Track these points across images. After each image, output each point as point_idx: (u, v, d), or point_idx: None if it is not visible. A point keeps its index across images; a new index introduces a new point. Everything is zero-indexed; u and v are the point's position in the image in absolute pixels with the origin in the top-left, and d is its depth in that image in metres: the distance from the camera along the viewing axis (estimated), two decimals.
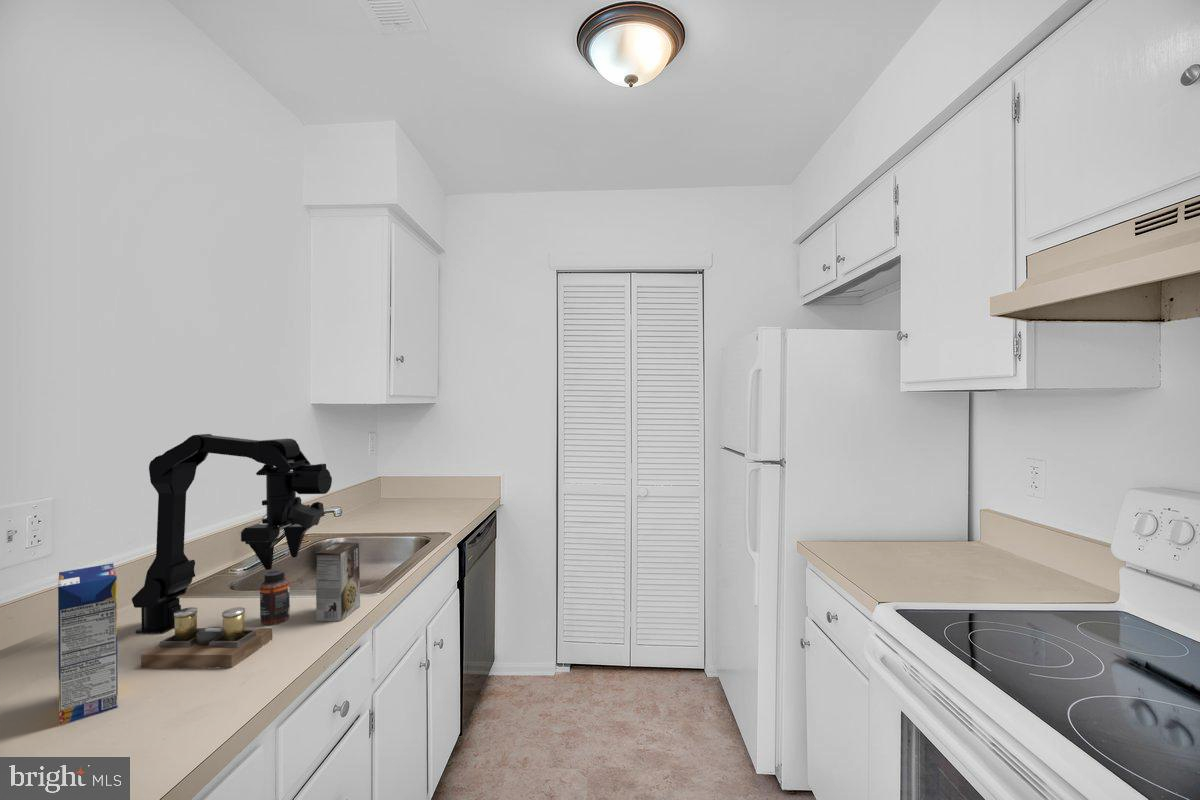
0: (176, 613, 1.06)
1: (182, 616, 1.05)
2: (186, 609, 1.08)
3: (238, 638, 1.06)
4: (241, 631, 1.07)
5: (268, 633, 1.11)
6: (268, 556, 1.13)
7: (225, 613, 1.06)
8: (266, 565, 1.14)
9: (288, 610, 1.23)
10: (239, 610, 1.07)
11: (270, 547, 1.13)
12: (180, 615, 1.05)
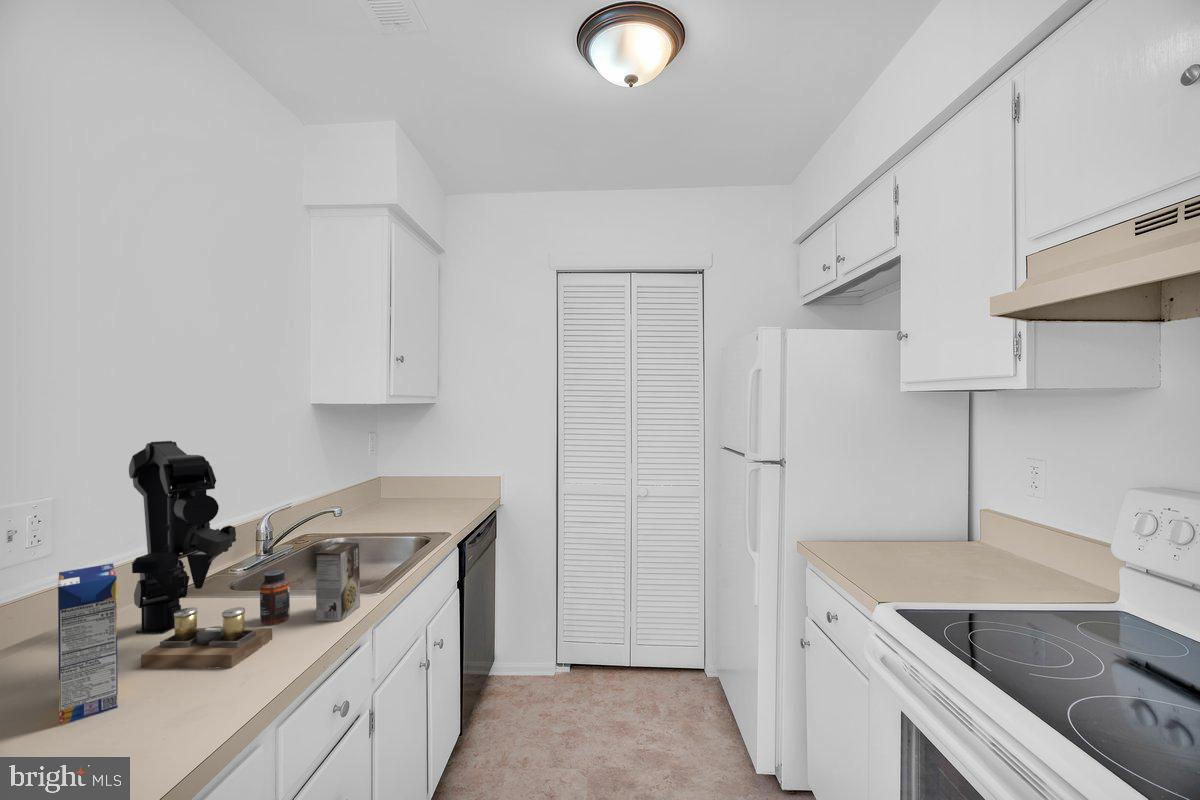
0: (176, 613, 1.06)
1: (182, 616, 1.05)
2: (186, 609, 1.08)
3: (238, 638, 1.06)
4: (241, 631, 1.07)
5: (268, 633, 1.11)
6: (172, 586, 1.03)
7: (225, 613, 1.06)
8: (170, 595, 1.04)
9: (288, 610, 1.23)
10: (239, 610, 1.07)
11: (173, 576, 1.02)
12: (180, 615, 1.05)
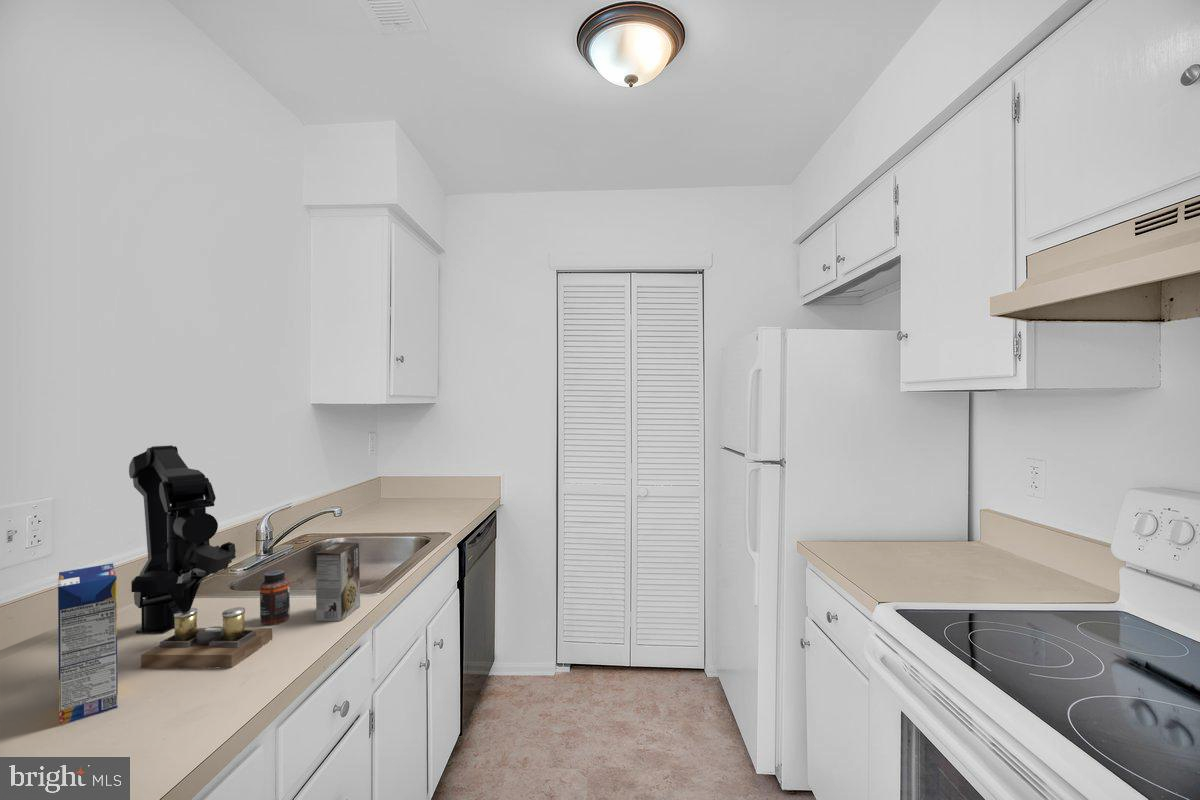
0: (176, 614, 1.06)
1: (182, 617, 1.05)
2: None
3: (238, 638, 1.06)
4: (241, 631, 1.07)
5: (268, 633, 1.11)
6: (184, 598, 1.06)
7: (225, 613, 1.06)
8: (182, 607, 1.06)
9: (288, 610, 1.23)
10: (239, 610, 1.07)
11: (185, 589, 1.05)
12: (180, 616, 1.05)
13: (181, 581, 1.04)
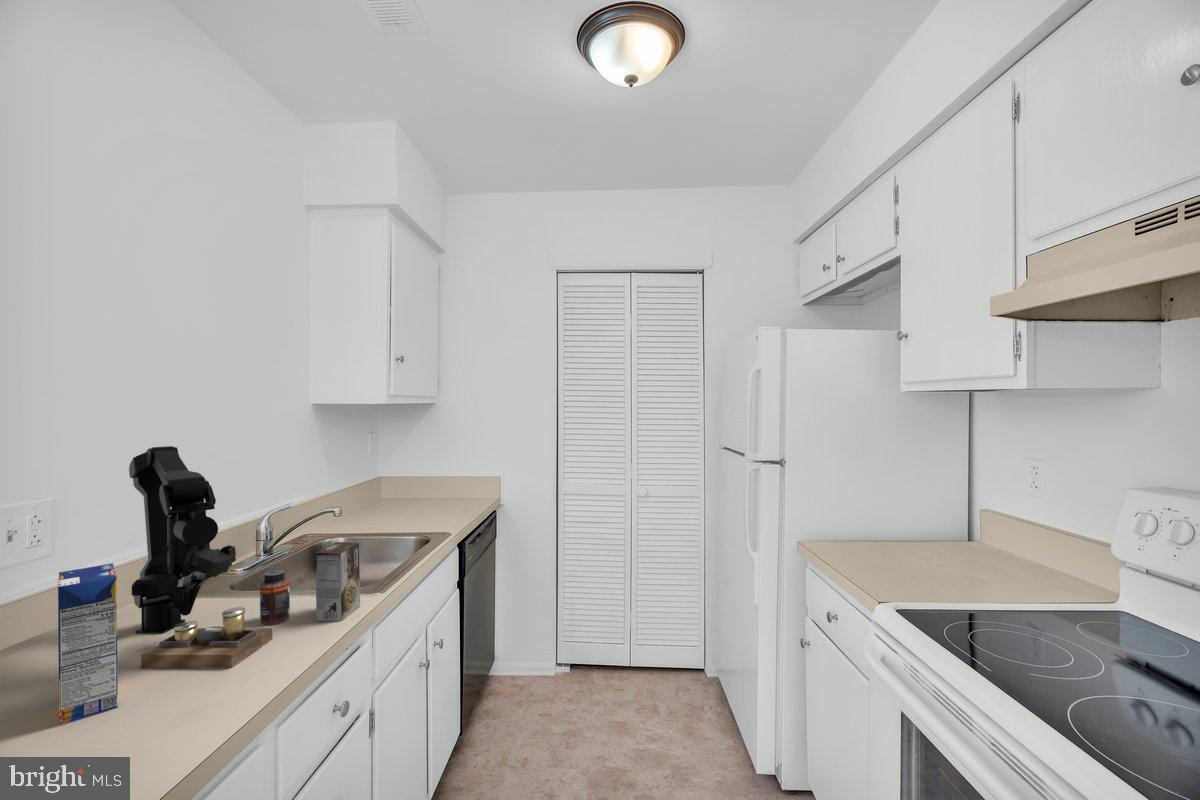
0: (176, 627, 1.06)
1: (182, 630, 1.05)
2: (186, 623, 1.08)
3: (238, 638, 1.06)
4: (241, 631, 1.07)
5: (268, 633, 1.11)
6: (184, 601, 1.06)
7: (225, 613, 1.06)
8: (182, 611, 1.06)
9: (288, 610, 1.23)
10: (239, 610, 1.07)
11: (186, 592, 1.05)
12: (180, 629, 1.05)
13: (181, 584, 1.04)
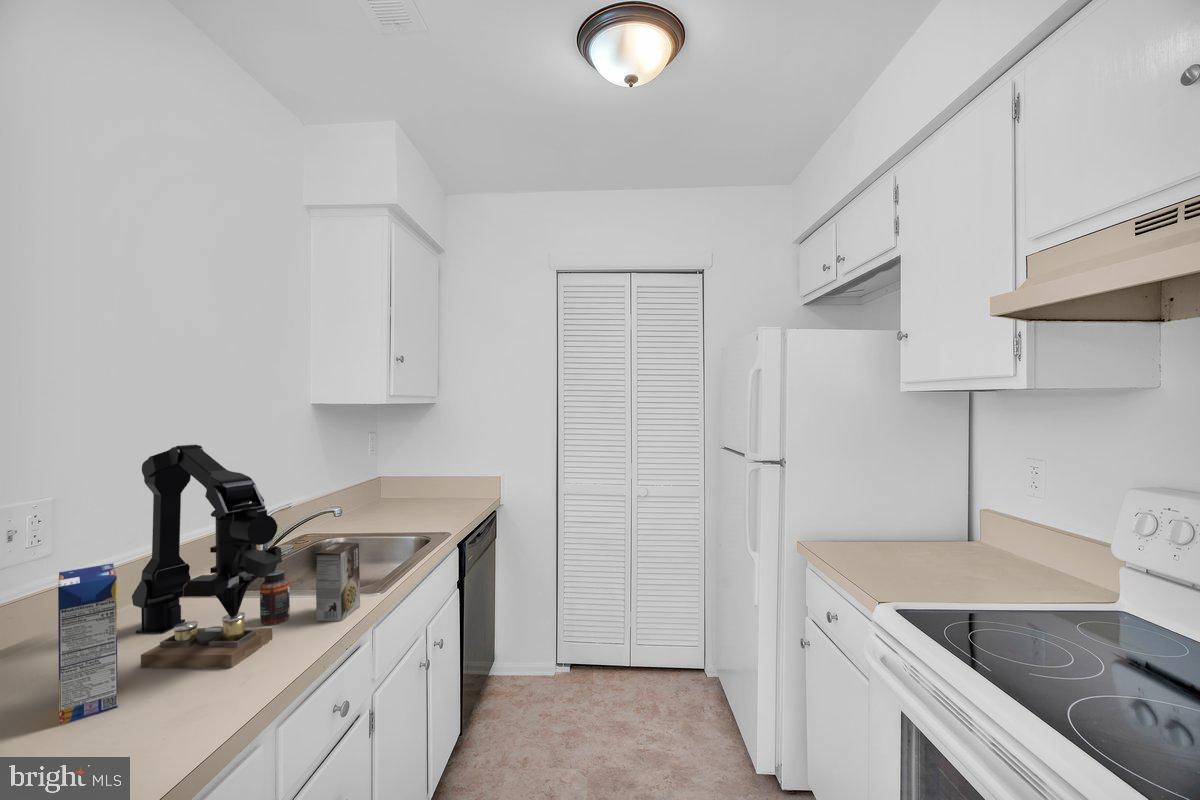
0: (176, 627, 1.06)
1: (182, 630, 1.05)
2: (186, 623, 1.08)
3: None
4: (241, 636, 1.07)
5: (268, 633, 1.11)
6: (232, 602, 1.06)
7: (225, 618, 1.06)
8: (230, 612, 1.06)
9: (288, 610, 1.23)
10: (239, 615, 1.07)
11: (234, 593, 1.05)
12: (180, 629, 1.05)
13: (230, 585, 1.03)
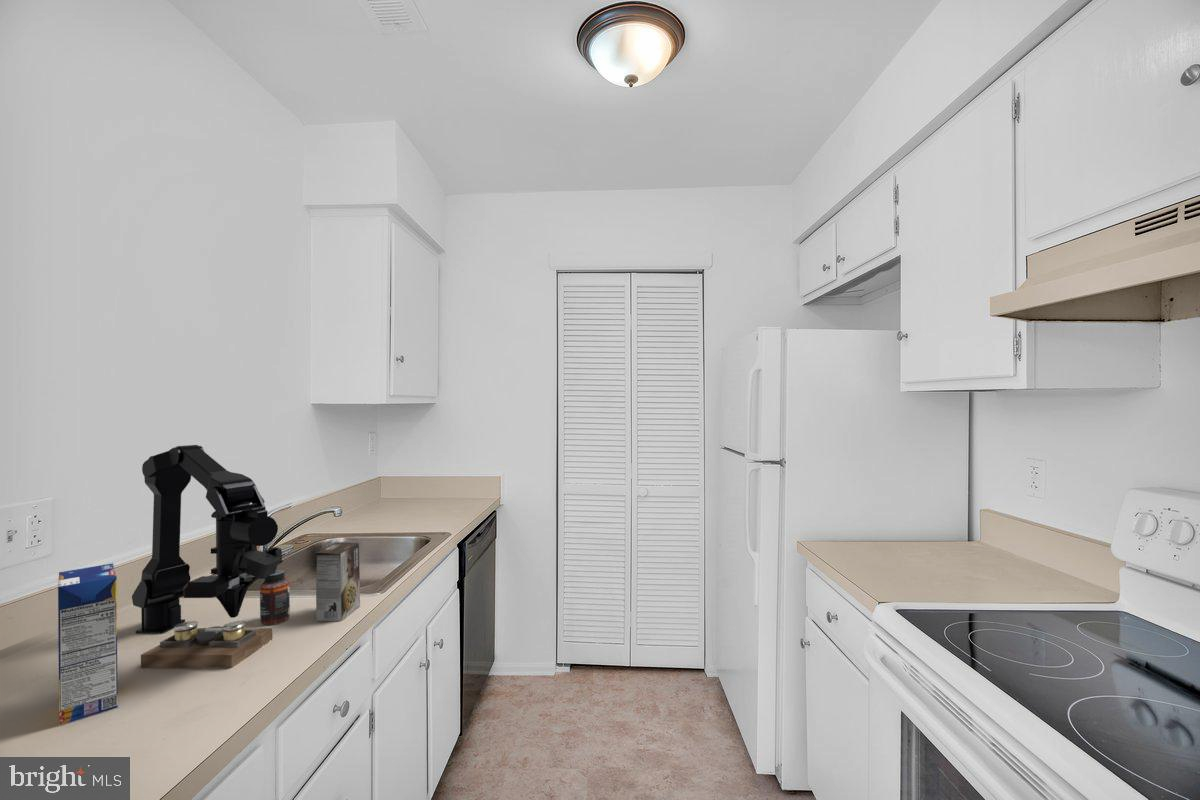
0: (176, 627, 1.06)
1: (182, 630, 1.05)
2: (186, 623, 1.08)
3: None
4: None
5: (268, 633, 1.11)
6: (232, 603, 1.05)
7: (225, 627, 1.06)
8: (230, 613, 1.06)
9: (288, 610, 1.23)
10: (239, 624, 1.07)
11: (234, 594, 1.05)
12: (180, 629, 1.05)
13: (231, 586, 1.03)
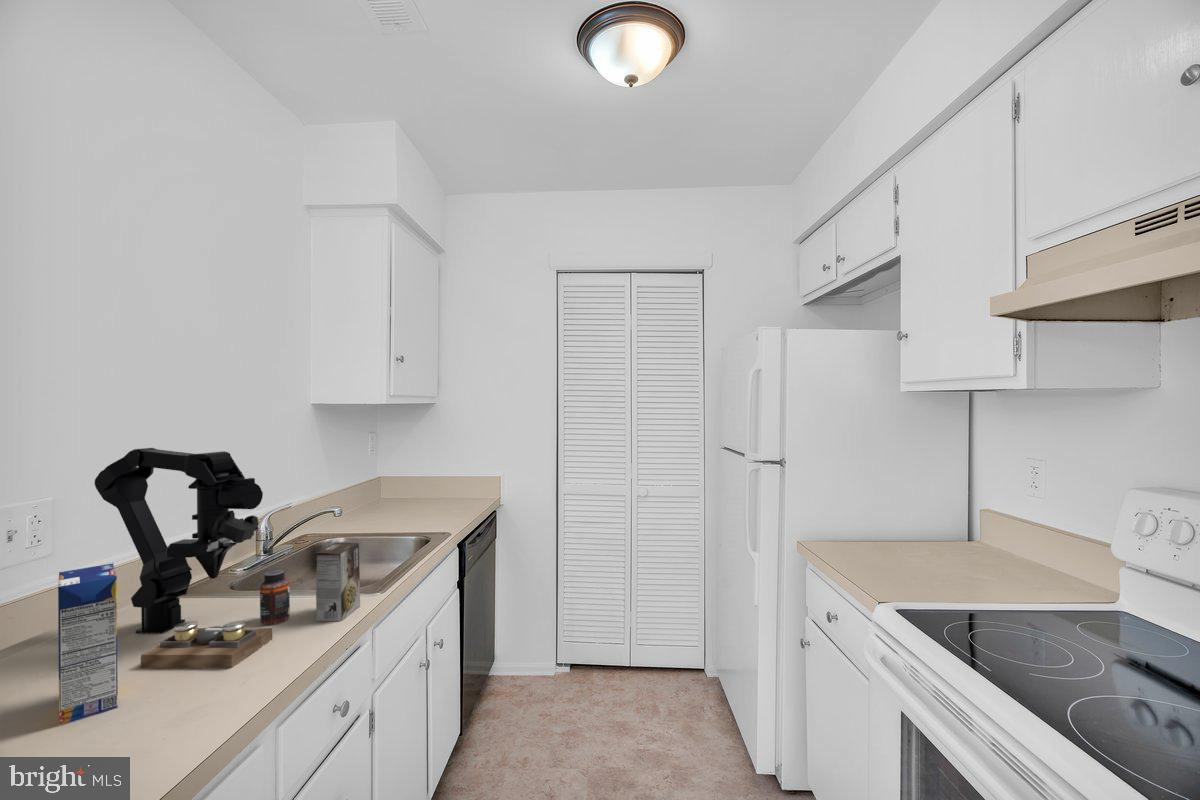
0: (176, 627, 1.06)
1: (182, 630, 1.05)
2: (186, 623, 1.08)
3: None
4: None
5: (268, 633, 1.11)
6: (212, 565, 1.16)
7: (225, 627, 1.06)
8: (210, 574, 1.17)
9: (288, 610, 1.23)
10: (239, 624, 1.07)
11: (214, 556, 1.15)
12: (180, 629, 1.05)
13: (210, 549, 1.14)
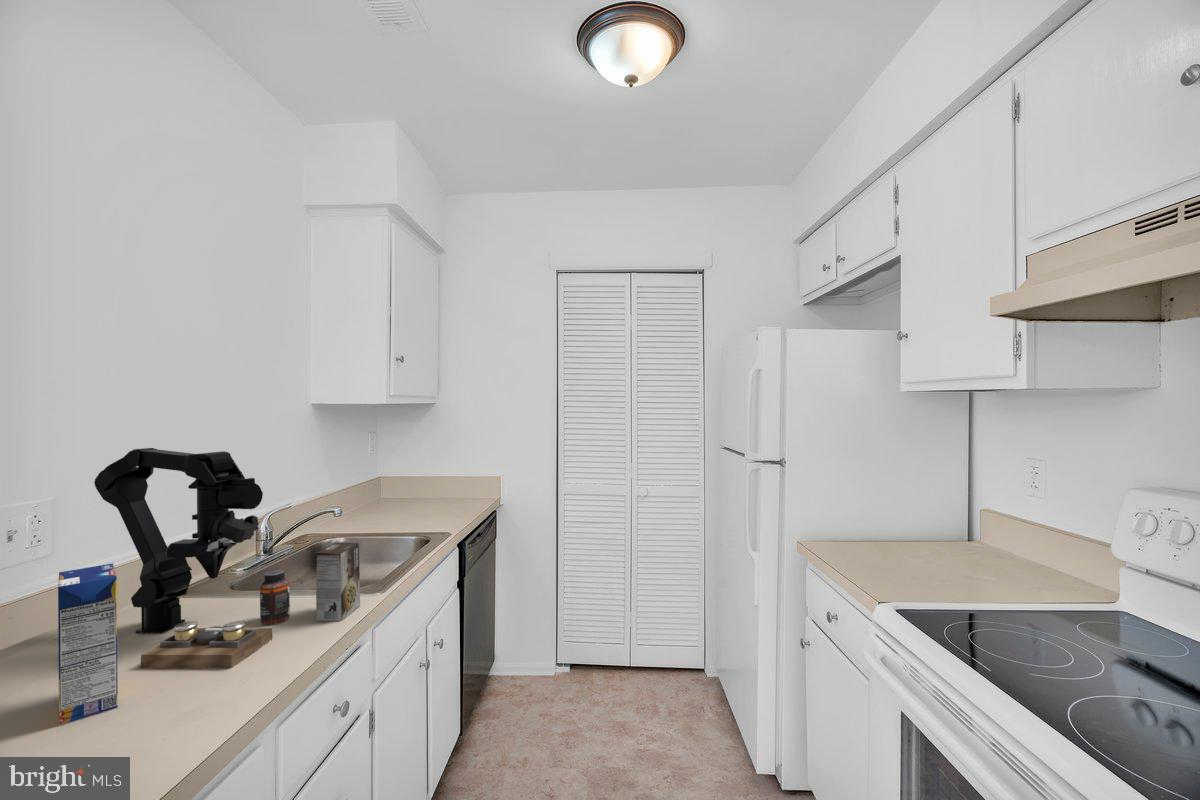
0: (176, 627, 1.06)
1: (182, 630, 1.05)
2: (186, 623, 1.08)
3: None
4: None
5: (268, 633, 1.11)
6: (212, 565, 1.16)
7: (225, 627, 1.06)
8: (210, 574, 1.17)
9: (288, 610, 1.23)
10: (239, 624, 1.07)
11: (214, 556, 1.15)
12: (180, 629, 1.05)
13: (210, 549, 1.14)
